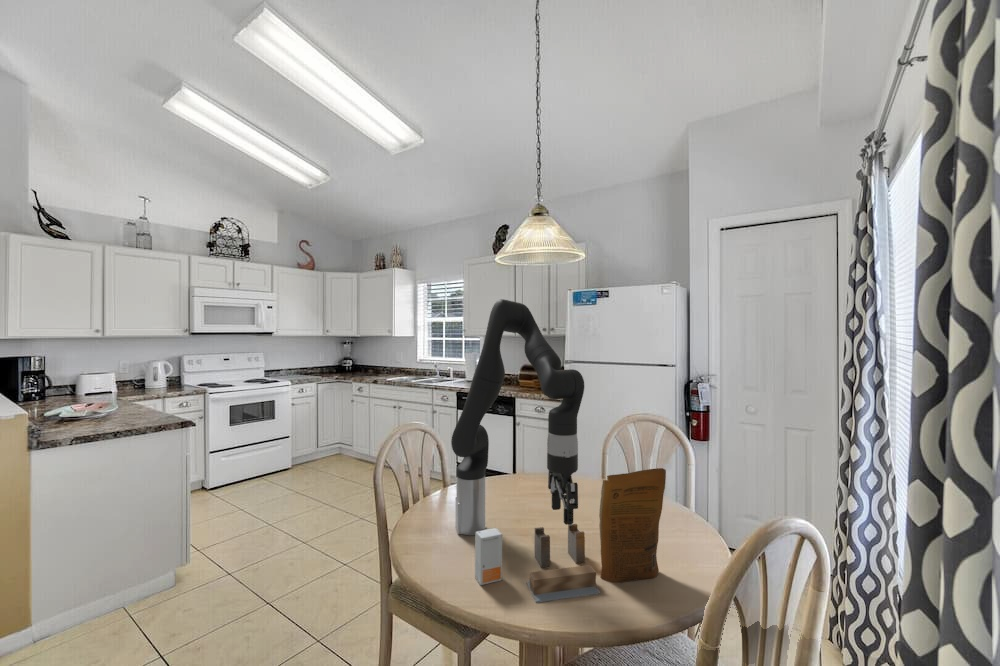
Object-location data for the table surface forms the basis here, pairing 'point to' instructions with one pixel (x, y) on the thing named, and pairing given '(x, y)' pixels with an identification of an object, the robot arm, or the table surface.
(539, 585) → the rail
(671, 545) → the table surface
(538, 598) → the mat
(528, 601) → the table surface
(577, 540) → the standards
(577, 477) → the table surface
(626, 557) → the pancake mix bag
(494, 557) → the skincare box
